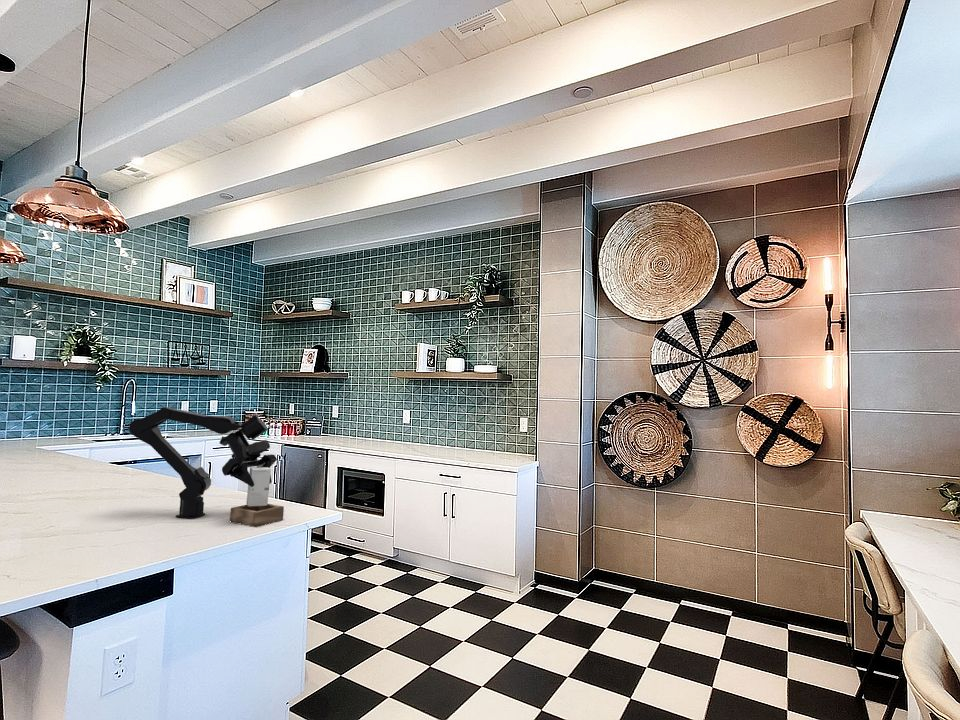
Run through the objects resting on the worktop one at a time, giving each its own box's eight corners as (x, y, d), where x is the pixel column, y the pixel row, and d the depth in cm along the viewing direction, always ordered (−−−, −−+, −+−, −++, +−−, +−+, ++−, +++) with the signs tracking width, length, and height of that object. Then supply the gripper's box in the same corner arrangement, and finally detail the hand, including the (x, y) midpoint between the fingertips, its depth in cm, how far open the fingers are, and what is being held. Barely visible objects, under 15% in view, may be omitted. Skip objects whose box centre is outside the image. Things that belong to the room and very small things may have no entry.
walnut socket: (229, 522, 176) (230, 507, 176) (257, 515, 186) (258, 502, 186) (255, 527, 171) (256, 512, 171) (282, 520, 181) (283, 506, 182)
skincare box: (248, 506, 175) (251, 469, 176) (245, 504, 179) (249, 467, 180) (268, 505, 179) (271, 468, 179) (265, 502, 182) (268, 466, 183)
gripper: (231, 433, 173) (254, 472, 168) (275, 431, 190) (296, 466, 185) (211, 455, 176) (233, 494, 171) (256, 451, 193) (277, 486, 188)
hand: (262, 484), depth 179 cm, fingers closed on skincare box, 7 cm apart
